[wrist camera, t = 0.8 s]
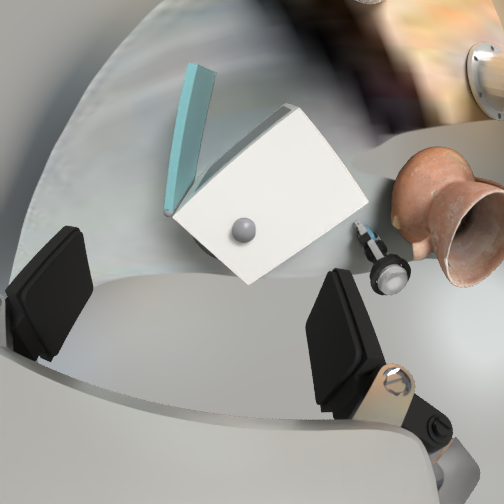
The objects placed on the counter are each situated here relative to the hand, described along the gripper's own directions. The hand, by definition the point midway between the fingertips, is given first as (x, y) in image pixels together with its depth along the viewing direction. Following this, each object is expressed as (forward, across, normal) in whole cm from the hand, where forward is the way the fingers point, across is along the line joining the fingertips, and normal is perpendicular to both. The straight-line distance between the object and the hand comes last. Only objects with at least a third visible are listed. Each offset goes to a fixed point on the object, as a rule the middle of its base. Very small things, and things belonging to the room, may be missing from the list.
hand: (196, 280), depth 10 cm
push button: (+25, -20, +8) cm, 33 cm away
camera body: (+24, -4, +2) cm, 25 cm away
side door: (+24, +5, -2) cm, 24 cm away
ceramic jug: (+25, -27, -1) cm, 37 cm away
